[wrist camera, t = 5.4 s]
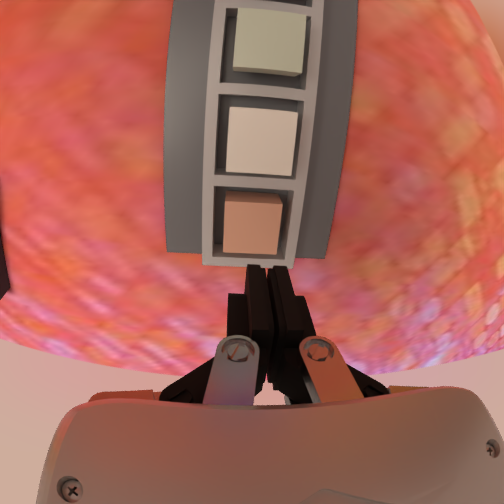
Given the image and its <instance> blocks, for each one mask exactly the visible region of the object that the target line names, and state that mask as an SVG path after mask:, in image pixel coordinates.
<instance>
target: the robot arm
mask: <svg viewBox="0 0 504 504" xmlns="http://www.w3.org/2000/svg"><path fill="white" fill-rule="evenodd" d="M266 373H267V379H268V382H269V383H273V390H279V391H280V392H281V393H283V394H285V396H284V399H285V403H286V405H266V406H265V405H261V406H260V405H257V406H254V405H253V403H254V397H255V396H256V395H257V394H258V393H259V392H260V391H261V390H262V386H263V383H264V382H265V378H266ZM75 486H76V487H75ZM36 504H504V441H503V439H502V437H501V435H500V432H499V430H498V428H497V427H496V424H495V422H494V421H493V418H492V417H491V415H490V413H489V411H488V410H487V409H486V407H485V405H484V404H483V402H482V401H481V400H480V399H479V397H478V396H477V395H476V394H474V393H473V392H472V391H470V390H467V389H464V388H459V387H451V386H450V387H449V386H440V387H410V386H389V387H388V388H386V387H385V386H384V385H383V384H381V383H380V382H378V381H376V380H374V379H372V378H370V377H369V376H367V375H365V374H363V373H362V372H360V371H358V370H356V369H355V368H353V367H351V366H349V365H348V364H346V363H345V361H344V359H343V357H342V355H341V354H340V352H339V350H338V348H337V346H336V345H335V344H334V343H333V342H332V341H331V340H329V339H327V338H325V337H321V336H316V332H315V329H314V326H313V322H312V319H311V316H310V313H309V309H308V306H307V303H306V300H305V297H304V296H295V294H294V291H293V287H292V283H291V280H290V276H289V273H288V269H287V266H279V265H274V266H273V269H271V268H269V269H268V274H267V277H266V271H265V268H261V267H260V265H257V264H247V270H246V281H245V292H244V294H232V293H228V312H227V337H226V338H224V339H223V340H221V341H220V342H219V344H218V346H217V350H216V354H215V357H213V358H212V359H210V360H209V361H207V362H206V363H204V364H203V365H201V366H199V367H198V368H196V369H195V370H193V371H192V372H190V373H188V374H187V375H185V376H184V377H182V378H180V379H179V380H177V381H176V382H174V383H172V384H171V385H169V386H168V387H166V388H165V389H164V390H163V391H162V392H153V390H138V391H117V392H100V393H97V394H95V395H93V396H92V397H91V398H90V400H89V401H88V402H87V403H84V404H81V405H78V406H76V407H74V408H73V409H71V410H70V411H69V412H68V413H67V414H66V415H65V416H64V418H63V419H62V420H61V422H60V424H59V426H58V428H57V430H56V432H55V434H54V437H53V439H52V442H51V444H50V447H49V450H48V453H47V457H46V460H45V464H44V468H43V471H42V475H41V480H40V484H39V489H38V495H37V500H36Z"/></svg>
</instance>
